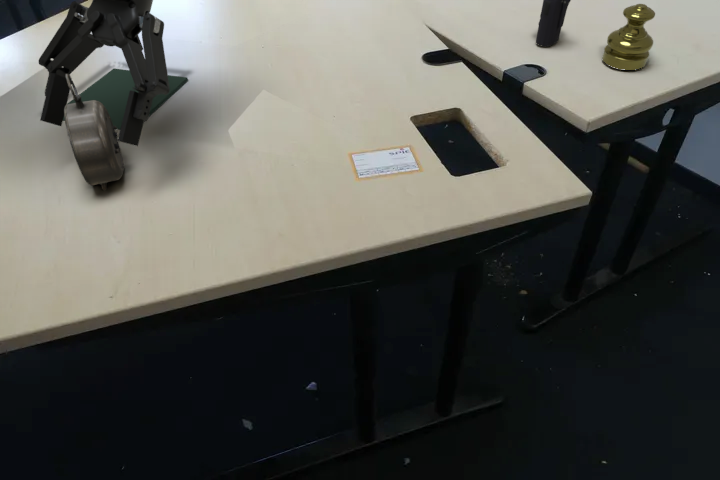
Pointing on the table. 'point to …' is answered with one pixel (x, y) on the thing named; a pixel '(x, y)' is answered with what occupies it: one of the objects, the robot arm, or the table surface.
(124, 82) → the desk mat
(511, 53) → the table surface
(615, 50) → the gold round tapered piece
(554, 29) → the two-way radio
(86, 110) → the alarm clock
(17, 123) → the table surface
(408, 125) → the table surface
